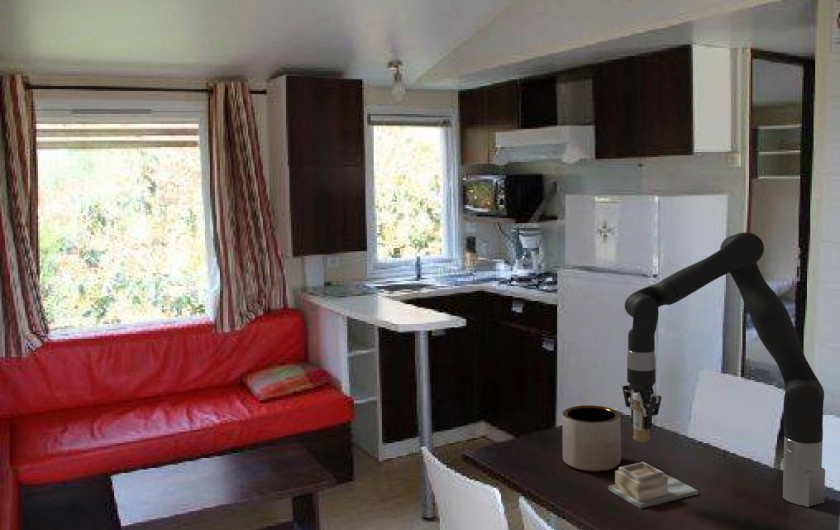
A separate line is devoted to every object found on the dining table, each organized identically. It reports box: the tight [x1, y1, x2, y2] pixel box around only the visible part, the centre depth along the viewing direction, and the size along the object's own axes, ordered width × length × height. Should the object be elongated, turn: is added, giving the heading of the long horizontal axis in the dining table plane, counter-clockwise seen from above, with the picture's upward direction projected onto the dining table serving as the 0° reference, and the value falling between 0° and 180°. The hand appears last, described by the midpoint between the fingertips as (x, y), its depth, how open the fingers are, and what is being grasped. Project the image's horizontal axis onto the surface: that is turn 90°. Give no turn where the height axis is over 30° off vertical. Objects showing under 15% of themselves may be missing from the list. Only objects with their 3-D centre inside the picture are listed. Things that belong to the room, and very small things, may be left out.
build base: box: [607, 461, 699, 509], centre depth 212 cm, size 14×20×7 cm
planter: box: [562, 404, 622, 472], centre depth 234 cm, size 18×18×16 cm
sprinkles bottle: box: [632, 393, 651, 443], centre depth 208 cm, size 5×5×14 cm
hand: (641, 426), depth 208 cm, fingers closed on sprinkles bottle, 4 cm apart
